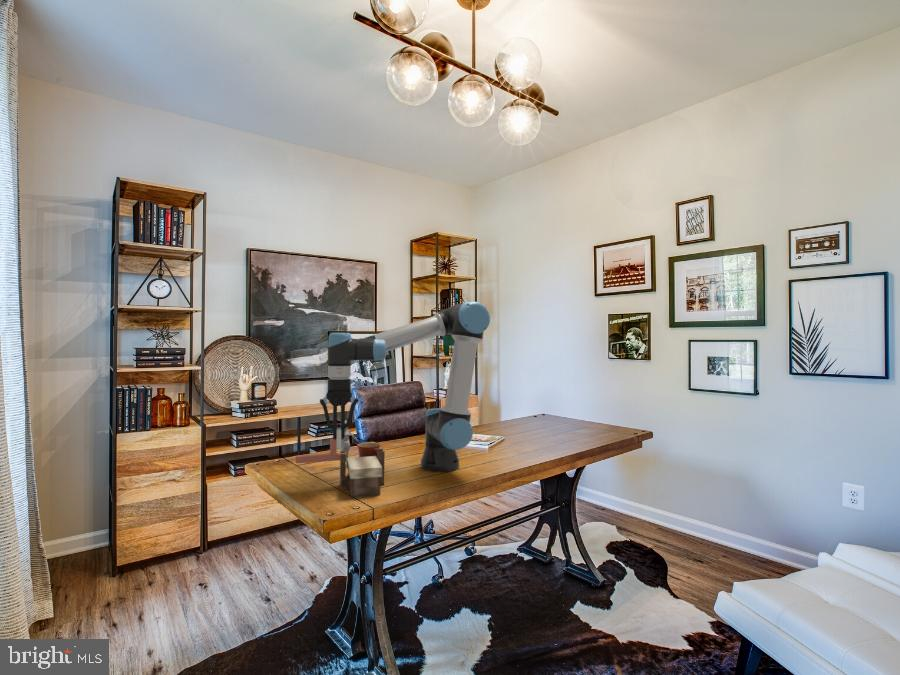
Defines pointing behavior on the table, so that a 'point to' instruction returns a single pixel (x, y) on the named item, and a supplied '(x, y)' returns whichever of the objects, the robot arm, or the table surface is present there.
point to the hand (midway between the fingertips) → (338, 448)
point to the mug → (368, 449)
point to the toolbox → (361, 479)
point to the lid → (364, 467)
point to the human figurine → (346, 442)
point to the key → (322, 455)
